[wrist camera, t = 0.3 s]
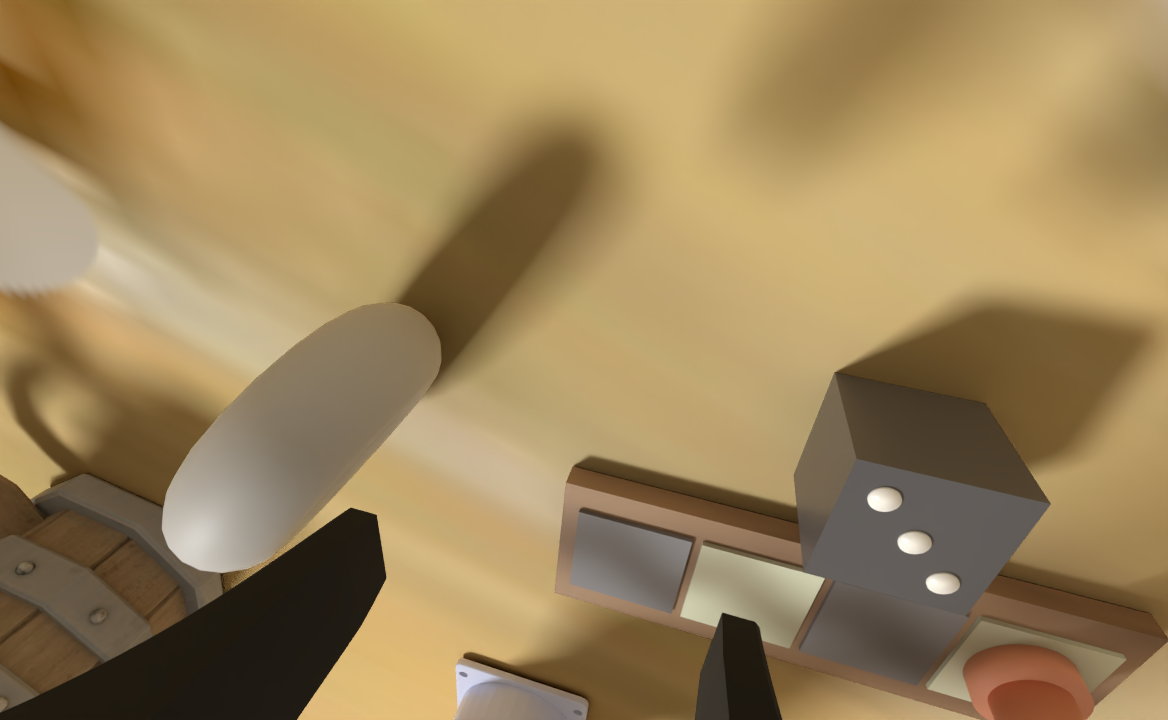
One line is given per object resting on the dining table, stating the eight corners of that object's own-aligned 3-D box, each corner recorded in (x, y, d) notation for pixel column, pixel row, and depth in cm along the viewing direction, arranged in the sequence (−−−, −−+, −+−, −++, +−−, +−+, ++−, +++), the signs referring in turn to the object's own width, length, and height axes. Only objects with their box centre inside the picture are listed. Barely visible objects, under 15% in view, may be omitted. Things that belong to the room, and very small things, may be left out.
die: (926, 505, 19) (969, 619, 16) (793, 473, 20) (803, 573, 16) (987, 402, 17) (1055, 507, 13) (834, 371, 18) (857, 460, 14)
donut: (425, 239, 19) (174, 392, 11) (501, 305, 20) (317, 499, 11) (322, 396, 24) (99, 580, 16) (384, 444, 25) (200, 647, 17)
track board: (1043, 715, 23) (1056, 747, 22) (560, 575, 26) (553, 596, 25) (1150, 613, 19) (1172, 645, 18) (572, 466, 23) (564, 485, 22)
